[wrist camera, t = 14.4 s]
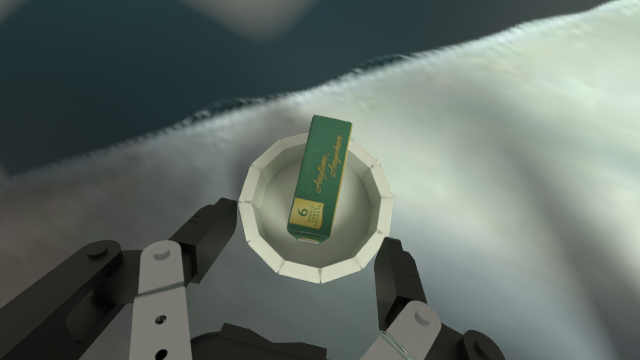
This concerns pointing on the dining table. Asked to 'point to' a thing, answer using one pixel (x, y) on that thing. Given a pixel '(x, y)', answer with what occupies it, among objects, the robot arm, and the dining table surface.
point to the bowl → (349, 223)
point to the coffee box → (319, 180)
